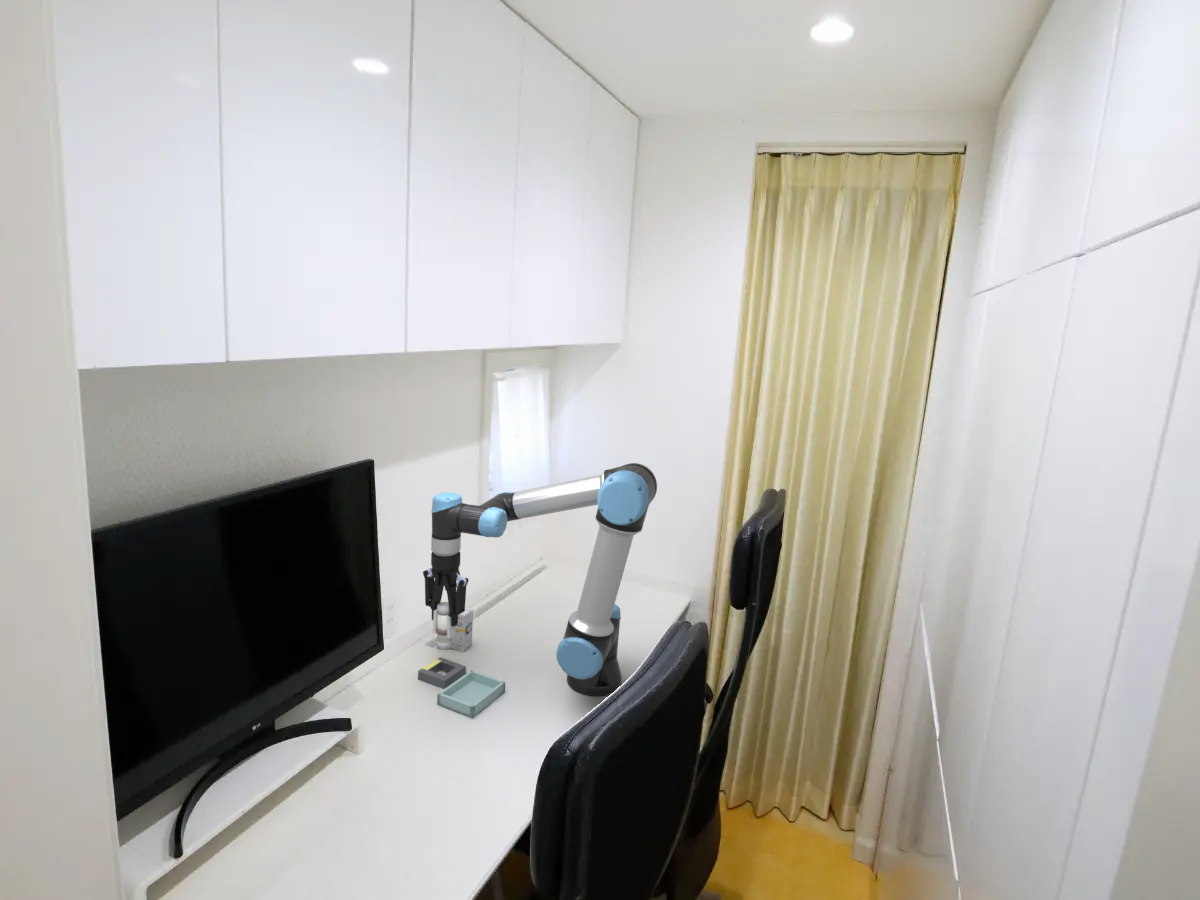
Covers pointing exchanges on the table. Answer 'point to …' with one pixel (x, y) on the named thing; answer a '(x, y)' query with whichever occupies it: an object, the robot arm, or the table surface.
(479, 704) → the parts tray
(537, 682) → the table surface
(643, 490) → the robot arm
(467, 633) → the ink box
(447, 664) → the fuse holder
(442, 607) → the grey-white banded cylinder
